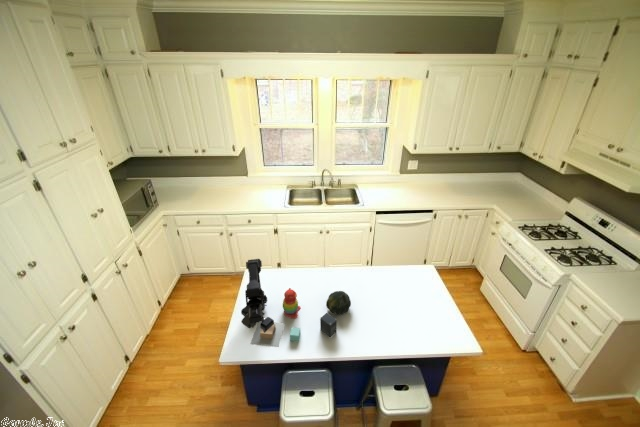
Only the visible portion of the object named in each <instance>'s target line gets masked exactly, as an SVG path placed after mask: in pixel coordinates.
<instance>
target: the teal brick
mask: <svg viewBox="0 0 640 427" xmlns="http://www.w3.org/2000/svg"><path fill="white" fill-rule="evenodd" d="M289 332H290V333H289V341H290V342H298V343H299V342H300V339H301V335H302V334H301V327H291V328H290V331H289Z"/></svg>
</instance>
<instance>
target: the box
mask: <svg viewBox="0 0 640 427" xmlns="http://www.w3.org/2000/svg"><path fill="white" fill-rule="evenodd" d="M319 320H320V321H319V323H320V324H319V327H320V328H319V330H320V332H322V333H323V334H324V335H326V337H328V338H330V339H331V338H332V337H333V336H334V335H335V334H336V333H337V323H338V320H337V319H336V318H335V317H333V316H332V315H331V314H329V313H328V312H326V313H324V315H322V316H321V317H320V318H319Z"/></svg>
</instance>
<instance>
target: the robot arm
mask: <svg viewBox="0 0 640 427" xmlns="http://www.w3.org/2000/svg"><path fill="white" fill-rule="evenodd" d="M262 262H263V261H262V260H261V259H260V258H254V259H253V258H252V259H248V260H247V261H245V267H246V269H247V271H248V278H249V280H248V283H247V285H246V289H245V294H244V295H245V303H246V306H244V307H243V308H242V309H241V311H240V314H241V315H242V316H243V318H242V319H241V323H242V325H243V326H245V327H246V329H253V328H254V327H255V326H257V324H258V322H260V321H261V324H260V328H261V329H263V331H264V333H265V332H266V331H267V330H268V329H269V328H270V327H271V326H272V325H273V324H274V322H275V321H274V319H272V317H270V316H267V317H264V315H265V312H264V310H265V308H266V307H267V305H268V304H267V302H268V297H267V296H266V294H265V291H264V290H263V289H262V285H261V277H260V273H261V271H262V267H263V263H262Z"/></svg>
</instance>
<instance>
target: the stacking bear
mask: <svg viewBox="0 0 640 427" xmlns="http://www.w3.org/2000/svg"><path fill="white" fill-rule="evenodd" d="M297 296H298V294H297V292H296V291H295V290H294V289H291V288H290V287H289V288H288V289H287V290H285V292H284V298H283V300H282V308H283V314H284V316H286V317H287V318H289V319H292V320H295V319H298V316H299V315H298V313H299V312H300V310H301V309H302V308H301V306H300V305H299V301H298V300H297Z"/></svg>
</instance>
